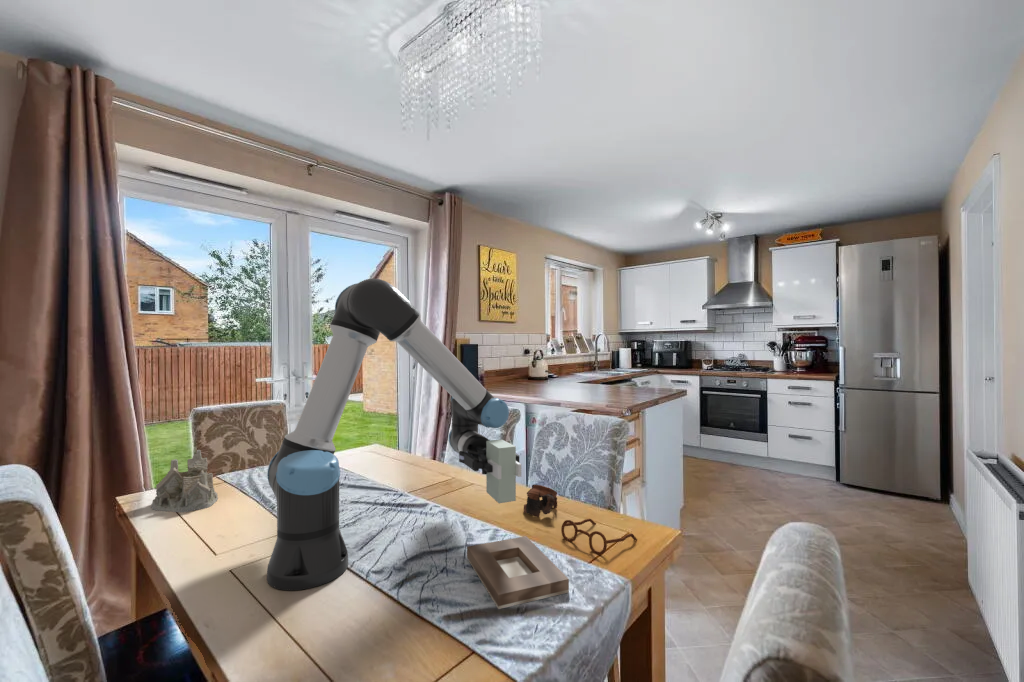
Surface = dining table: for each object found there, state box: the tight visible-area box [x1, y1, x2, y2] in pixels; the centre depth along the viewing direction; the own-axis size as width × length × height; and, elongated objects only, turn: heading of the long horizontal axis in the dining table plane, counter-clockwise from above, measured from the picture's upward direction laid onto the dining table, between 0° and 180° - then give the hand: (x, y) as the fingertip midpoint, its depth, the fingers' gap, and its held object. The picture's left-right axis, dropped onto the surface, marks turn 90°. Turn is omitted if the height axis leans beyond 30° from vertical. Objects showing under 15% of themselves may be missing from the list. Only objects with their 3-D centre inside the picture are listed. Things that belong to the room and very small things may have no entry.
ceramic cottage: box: [150, 449, 219, 513], centre depth 130 cm, size 16×16×15 cm
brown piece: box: [523, 484, 558, 518], centre depth 123 cm, size 12×10×8 cm
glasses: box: [561, 518, 638, 556], centre depth 106 cm, size 13×13×5 cm
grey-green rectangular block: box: [485, 439, 517, 504], centre depth 101 cm, size 4×8×12 cm, turn 23°
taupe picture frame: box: [466, 535, 570, 610], centre depth 90 cm, size 14×20×2 cm
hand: (509, 471), depth 96 cm, fingers closed on grey-green rectangular block, 4 cm apart
